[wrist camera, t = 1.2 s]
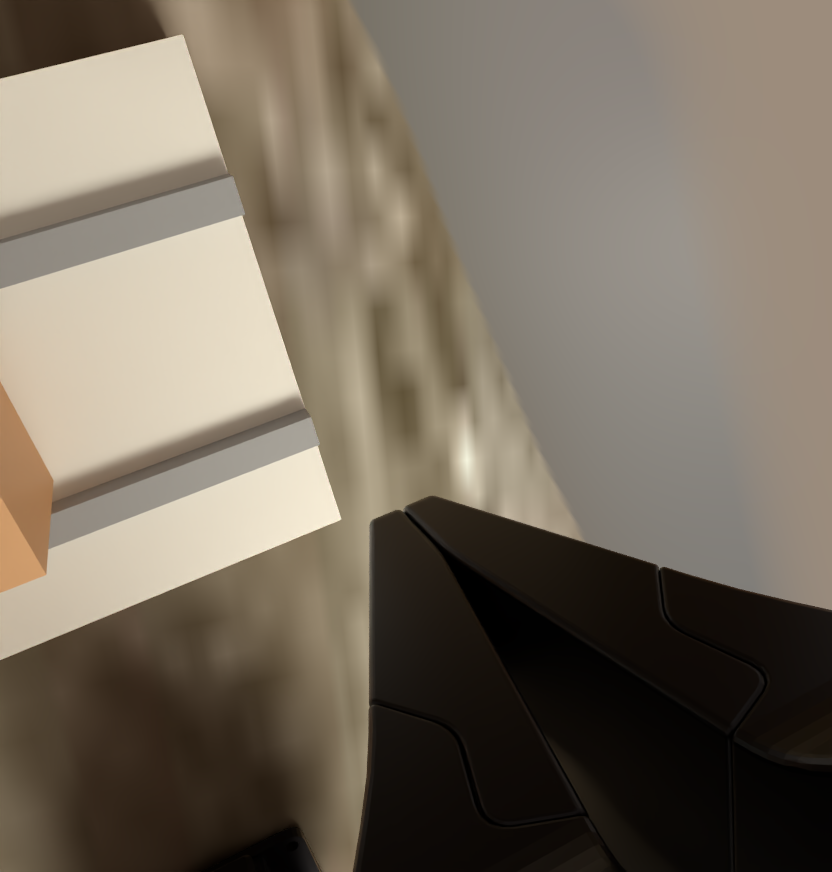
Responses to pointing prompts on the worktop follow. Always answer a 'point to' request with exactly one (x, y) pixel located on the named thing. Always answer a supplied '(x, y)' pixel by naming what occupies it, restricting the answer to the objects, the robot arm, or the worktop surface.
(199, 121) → the slot board
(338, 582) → the worktop surface
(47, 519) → the orange-brown cube
